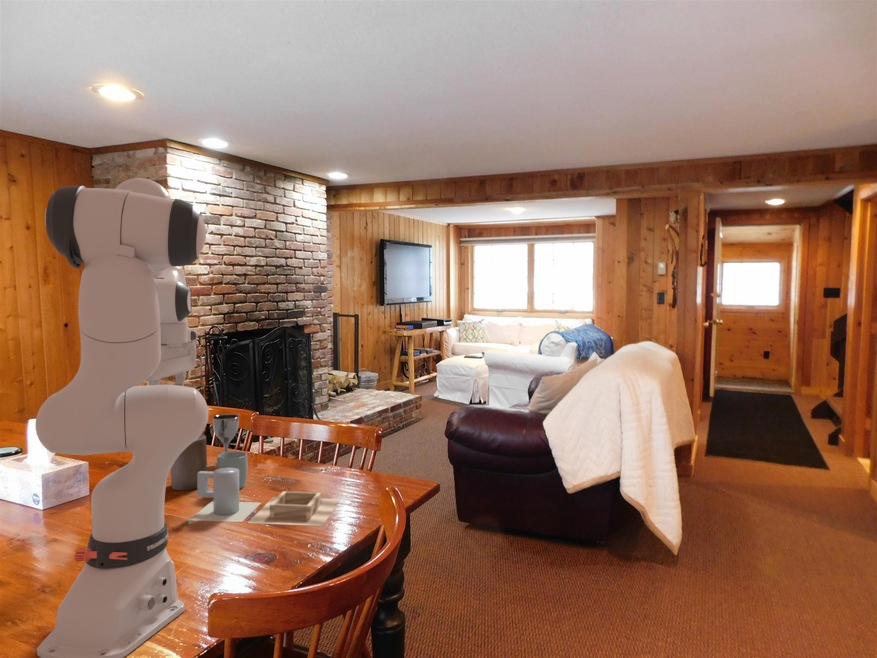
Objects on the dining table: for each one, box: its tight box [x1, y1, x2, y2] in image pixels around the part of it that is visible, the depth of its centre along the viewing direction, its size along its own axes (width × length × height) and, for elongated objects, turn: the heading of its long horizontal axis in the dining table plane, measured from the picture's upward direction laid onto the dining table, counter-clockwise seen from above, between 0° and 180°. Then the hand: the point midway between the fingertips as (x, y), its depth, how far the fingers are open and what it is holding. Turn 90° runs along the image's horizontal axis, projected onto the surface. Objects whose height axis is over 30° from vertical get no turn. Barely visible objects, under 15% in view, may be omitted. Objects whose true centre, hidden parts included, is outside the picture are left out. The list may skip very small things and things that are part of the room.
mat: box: [187, 500, 262, 525], centre depth 147 cm, size 13×13×1 cm
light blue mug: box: [196, 468, 240, 515], centre depth 147 cm, size 6×10×10 cm, turn 86°
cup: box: [216, 450, 248, 490], centre depth 165 cm, size 8×8×10 cm
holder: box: [247, 490, 341, 527], centre depth 148 cm, size 18×18×4 cm
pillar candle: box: [170, 433, 208, 491], centre depth 169 cm, size 10×10×15 cm
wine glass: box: [212, 413, 240, 465], centre depth 192 cm, size 8×8×15 cm
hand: (168, 394), depth 138 cm, fingers open, 8 cm apart
